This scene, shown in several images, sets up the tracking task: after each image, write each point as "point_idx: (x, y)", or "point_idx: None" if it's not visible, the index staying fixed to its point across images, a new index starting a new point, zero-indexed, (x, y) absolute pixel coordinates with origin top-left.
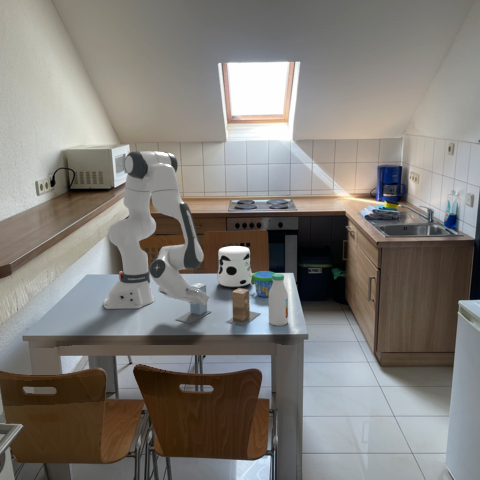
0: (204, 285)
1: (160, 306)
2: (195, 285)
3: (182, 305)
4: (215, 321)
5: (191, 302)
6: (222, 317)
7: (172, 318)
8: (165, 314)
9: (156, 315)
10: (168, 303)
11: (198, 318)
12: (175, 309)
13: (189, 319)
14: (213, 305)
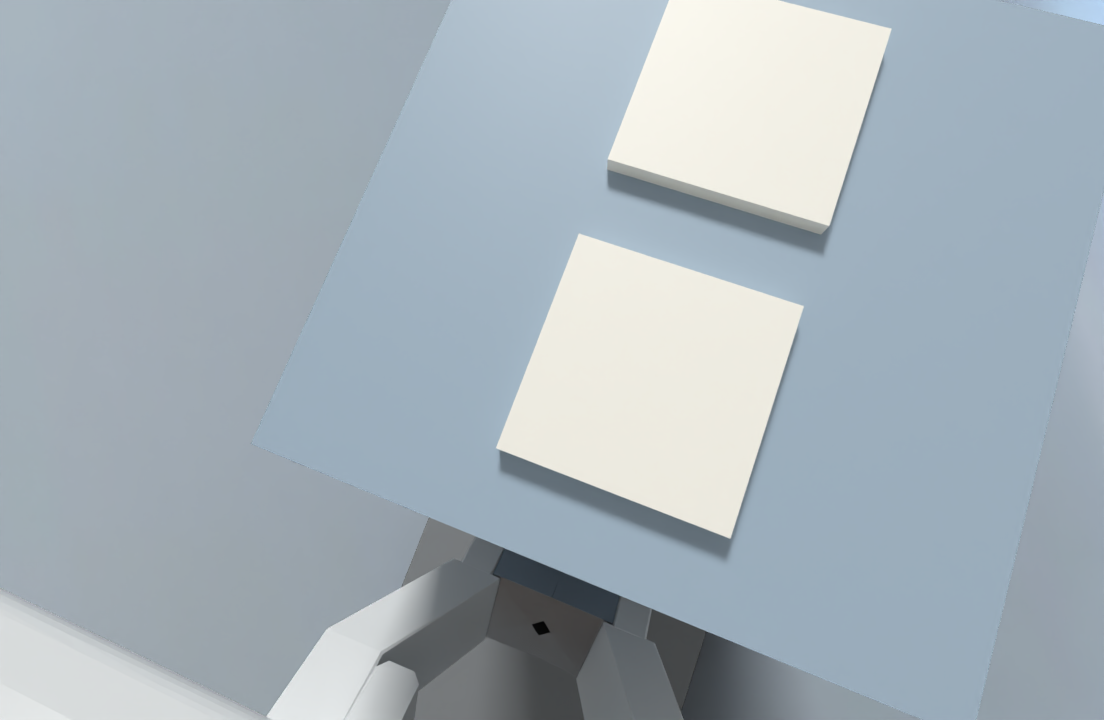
0: (1100, 181)
1: (35, 254)
2: (599, 343)
3: (315, 174)
4: (991, 703)
5: (547, 658)
6: (1044, 522)
7: (286, 659)
8: (155, 520)
9: (39, 574)
10: (118, 141)
11: (688, 645)
12: (253, 323)
13: (558, 705)
14: None
